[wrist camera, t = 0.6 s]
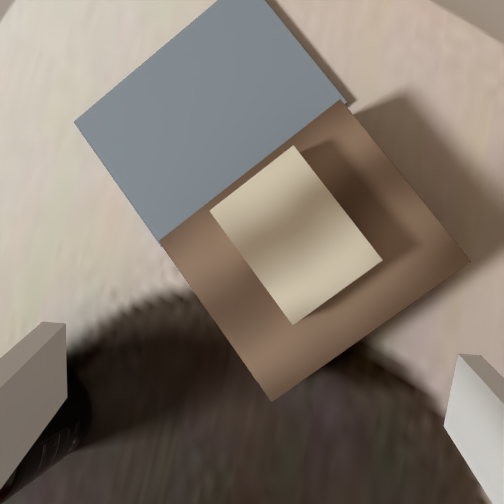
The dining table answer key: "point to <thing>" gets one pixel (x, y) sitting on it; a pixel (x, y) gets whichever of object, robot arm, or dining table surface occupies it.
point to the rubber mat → (205, 110)
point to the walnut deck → (348, 299)
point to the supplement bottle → (53, 439)
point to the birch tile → (295, 235)
